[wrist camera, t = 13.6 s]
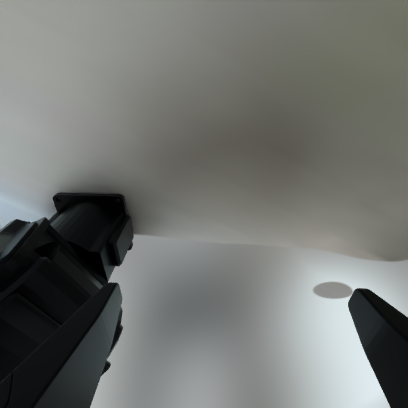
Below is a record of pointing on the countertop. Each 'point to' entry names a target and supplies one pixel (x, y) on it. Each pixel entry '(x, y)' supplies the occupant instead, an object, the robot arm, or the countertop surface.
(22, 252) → the robot arm
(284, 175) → the countertop surface
